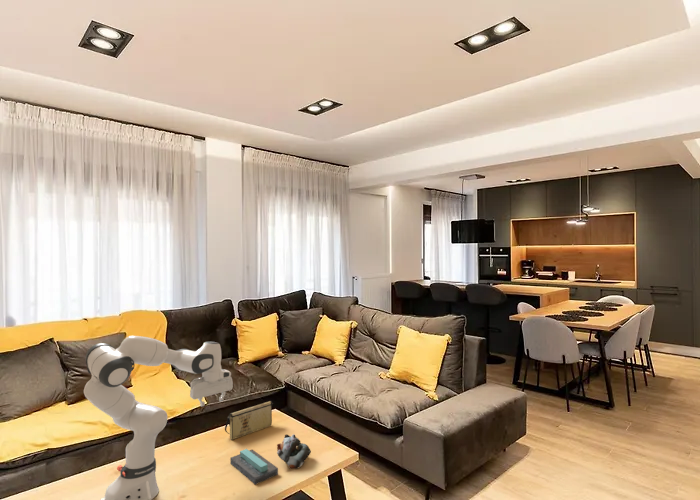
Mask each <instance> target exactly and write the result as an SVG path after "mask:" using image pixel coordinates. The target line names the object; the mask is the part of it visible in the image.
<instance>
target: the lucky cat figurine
mask: <svg viewBox="0 0 700 500" xmlns="http://www.w3.org/2000/svg"><path fill="white" fill-rule="evenodd" d="M276 450H277V452H276V454H277V456H278V458H280V459H281V460H282V461H283V462H285V464H286V465H288V468H289V469H291V470H293V469H295V470H297V469H299V468H300V467H302V466H303V465H304V463H305V462H306V459H307V458H308V457H309V456H310V455H311V451H312V450H311V448H310V447H309V446H308V444H306V443H303V442H302V443H301V440H300V439H299V438H298V437H296V435H295V434H294V433H293V434H292V435H289V434H284V438H283V440H282V442H281V443H277V444H276Z"/></svg>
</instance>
